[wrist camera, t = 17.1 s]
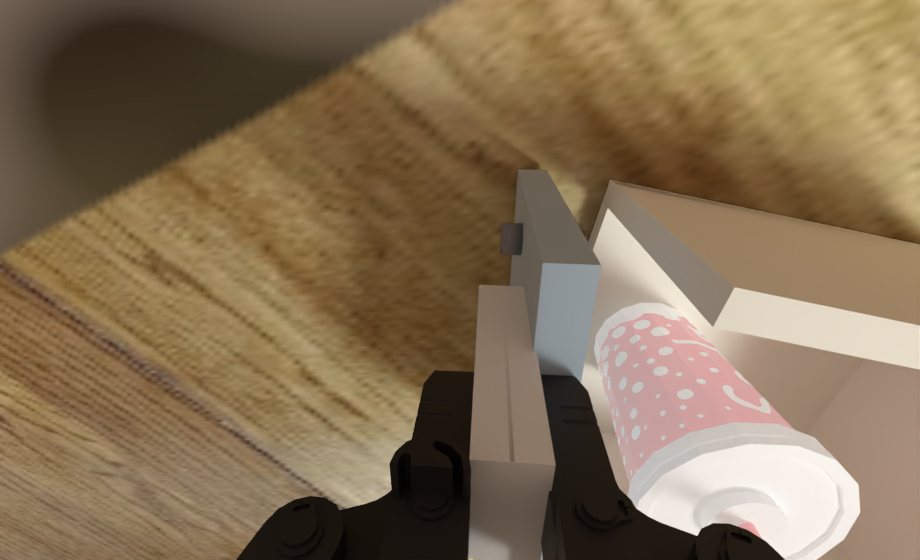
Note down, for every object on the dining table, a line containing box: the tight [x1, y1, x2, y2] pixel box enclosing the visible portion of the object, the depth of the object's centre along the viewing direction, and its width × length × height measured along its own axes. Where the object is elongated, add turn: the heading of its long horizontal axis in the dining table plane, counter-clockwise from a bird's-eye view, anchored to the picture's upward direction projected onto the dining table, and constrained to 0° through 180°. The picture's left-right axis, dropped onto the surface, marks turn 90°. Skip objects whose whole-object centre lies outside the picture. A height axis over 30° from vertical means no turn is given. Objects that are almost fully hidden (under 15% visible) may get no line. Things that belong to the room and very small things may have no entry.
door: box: [500, 169, 601, 560], centre depth 16 cm, size 13×2×10 cm, turn 179°
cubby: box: [581, 179, 920, 560], centre depth 16 cm, size 14×16×11 cm
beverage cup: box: [594, 303, 860, 560], centre depth 14 cm, size 6×6×14 cm
